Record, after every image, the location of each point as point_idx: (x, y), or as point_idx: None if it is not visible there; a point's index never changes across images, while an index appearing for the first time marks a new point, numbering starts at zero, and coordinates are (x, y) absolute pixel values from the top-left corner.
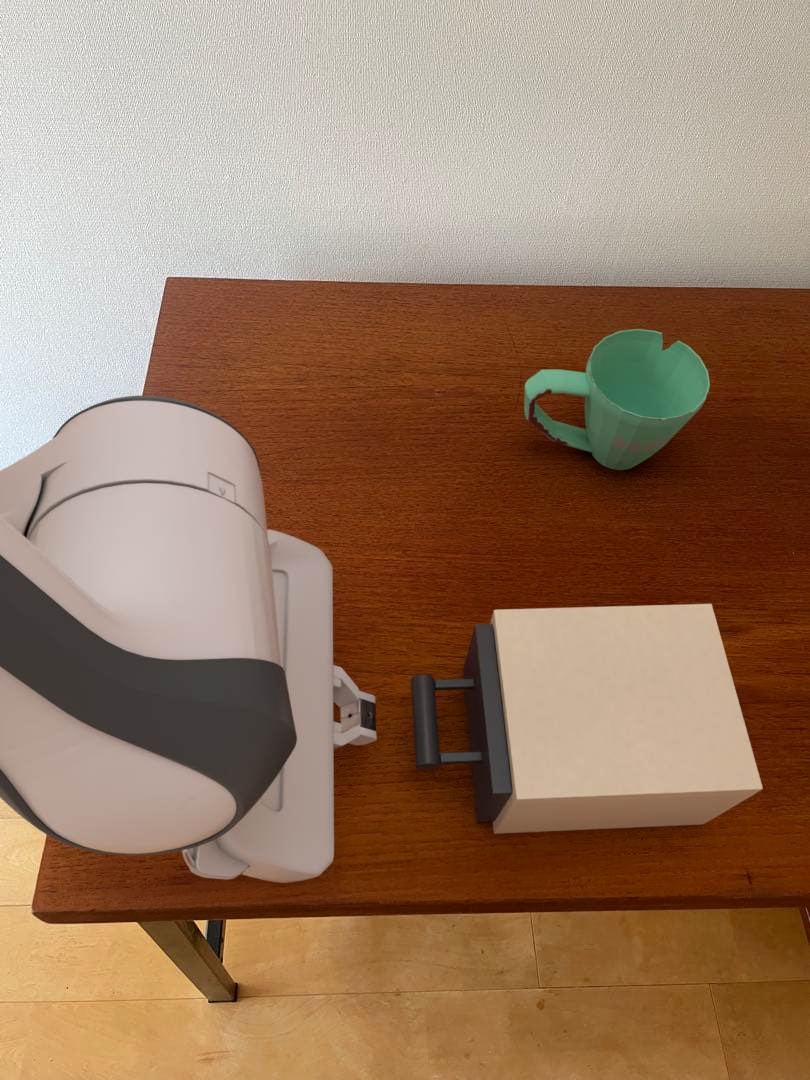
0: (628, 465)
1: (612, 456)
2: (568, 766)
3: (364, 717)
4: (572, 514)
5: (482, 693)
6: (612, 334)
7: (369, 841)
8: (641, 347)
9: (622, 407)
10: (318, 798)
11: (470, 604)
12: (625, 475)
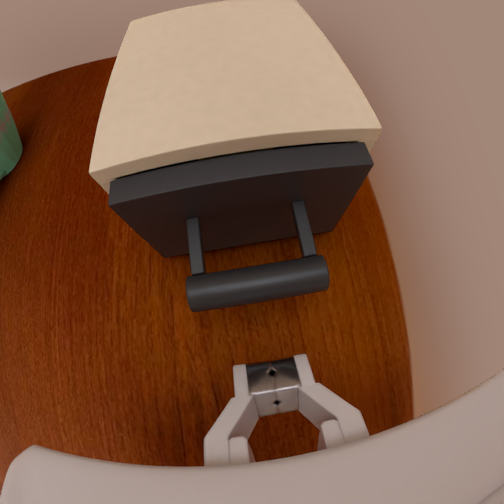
0: (18, 144)
1: (7, 150)
2: (320, 78)
3: (280, 380)
4: (38, 179)
5: (223, 180)
6: None
7: (361, 339)
8: None
9: None
10: (489, 417)
11: (96, 258)
12: (25, 150)
